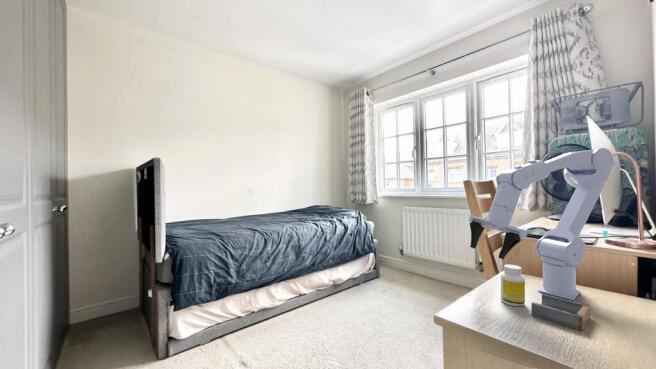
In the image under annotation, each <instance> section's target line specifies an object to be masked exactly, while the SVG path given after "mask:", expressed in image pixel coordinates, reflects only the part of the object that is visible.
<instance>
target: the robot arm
mask: <svg viewBox="0 0 656 369" xmlns="http://www.w3.org/2000/svg"><path fill="white" fill-rule="evenodd" d="M615 165H616V162H615V159H614V156H613V153H612V152H611V151H610V150H609V149H607V148H605V147H602V148H601V147H600V148H596V149H589V150H587V149H586V150H580V151H570V152H566V153H565V152H564V153H562V154H560V155H558V156H556V157H553V158H550V159H548V160H544V161H543V160H537V159H530V160H528V163H526V164H523V165H519V164H517V165H515V166H514V168H513V169H506V170H505V169H504V170H502V171H501V172H500V173H499V174H498V175H496V178H495V182H496V188H495V190H496V192H495V195H494V197H493V200H492V203H491V205H490V209H489V211H488V214H487V216H486V218H485V217H480V216H476V215H472V214H471V215H470V216H469V218H468V222H469V228H470V244H469V245H470V246H469V247H470V248H472V249H476V248H477V246H478V243H479V240H480V237H481V236H482V234H483V232H484V231H485V227H487V228H490V229H493V230H496V231H499V232H502V233H505V234H504V239H503V243H502V246H501V249H500V251H499V254H498V259H501V260H503V261H504V260H505V258H506V257H507V255H508V254H509V252H510V251H511V250H512V249H513V248H514V247H515V246H516V245H517V244H518V243H520V242H521V241H522V239H526V238H527V235H528V231H527V230H525V229H522V228H518V227H516V226H512V225H510V224H511V221H512V219H513V216H514V213H515V211H516V208H517V205H518V202H519V199H520V197H521V194H522V191H523V190H527V189H528V188H529V187H530V185H531V184H534V183H536V182H539V181H542V180H544V179H547V178H548V177H549V176H550V174H551V172H556V171H558V170H561V169H565V170H566V171H567V173H568V174H569V176H570V177H571V178H572V180H573V181H574V182H577V186H576V188H575V189H574V191H573V194H572V195H571V198H570V199H569V202H568V204H567V205H566V207H565V209H564V211H563V213H562V215H561V217H560V219H559V220H558V223H557V225H556V227H555V228H553V229H550V230H547V231H545V232H544V234H543V236H542V237H541V238H539V239H538V240H537V242H536V244H535V252H536V254H537V255H538V256H540V260H541V261H542V286H541V287H539V288H538V289H537V292H539V293H542V294H547V295H551V296H555V297H558V298H562V299H566V300H570V301H574V300H575V299H576V298H577V296H579V294H580V293H581V290H580V289H577V271H576V270H577V269H576V267H578V266H579V264H580V263H581V262H582V261H583V258H584V251H585V248H586V246H587V244H586V243H585V241H584V240H583V239H582V238H581V236H580V235H581V233H582V230H583V229H584V226H585V225H586V222H588V219H589V216H591V212H592V211H593V209H594V207H595V206H596V203H597V201H598V199H599V197H600V195H601V193H602V191H603V189H604V187H605V185H606V181H607V179H608V178H609V176H610V174H611V172H612V170H613V168H614V166H615ZM521 238H522V239H521Z"/></svg>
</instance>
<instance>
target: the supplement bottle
mask: <svg viewBox="0 0 656 369" xmlns="http://www.w3.org/2000/svg"><path fill="white" fill-rule="evenodd" d="M522 270H523V269H522V267H521V266H520V265H515V264H504V265H503V271H504V272H501V274H500V300H501V302H502V303H505V304H506V305H508V306H512V307H513V306H514V307H524V306H525V302H526V298H525V297H526V296H525V295H526V282H525V281H526V280H525V279H526V278H525V277H524V275H522V272H523V271H522Z"/></svg>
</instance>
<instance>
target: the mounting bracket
mask: <svg viewBox="0 0 656 369" xmlns="http://www.w3.org/2000/svg"><path fill="white" fill-rule="evenodd" d="M530 305H531V310H530V311H531V316H533V317H535V318H539V319H542V320H545V321H548V322H551V323H554V324H556V325H557V324H558V325H560V326H563V327H567V328H569V329H573V330H577V331H579V332H582V331H583V329H584V328H585V327H586V325H587V323H588V322H589V320H590V319H591V307H590V306H591V305H589V304H585V303H582V302H578V301H574V300H570V299H566V298H562V297H558V296H554V295H551V294H547V293H542V294H541V303H537V302H534V301H532V302H531V304H530Z"/></svg>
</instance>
